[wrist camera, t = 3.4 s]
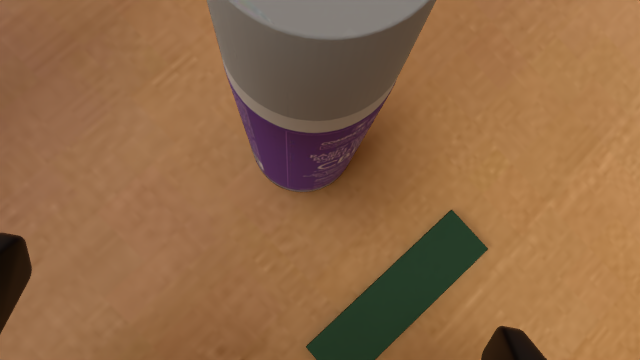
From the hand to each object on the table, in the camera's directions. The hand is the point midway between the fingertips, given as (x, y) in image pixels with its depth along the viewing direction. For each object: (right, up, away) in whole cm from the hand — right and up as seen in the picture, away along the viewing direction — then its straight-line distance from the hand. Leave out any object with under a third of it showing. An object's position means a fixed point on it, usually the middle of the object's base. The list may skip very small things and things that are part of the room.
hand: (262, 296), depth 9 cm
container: (0, +4, +14) cm, 14 cm away
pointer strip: (+5, -3, +12) cm, 14 cm away
